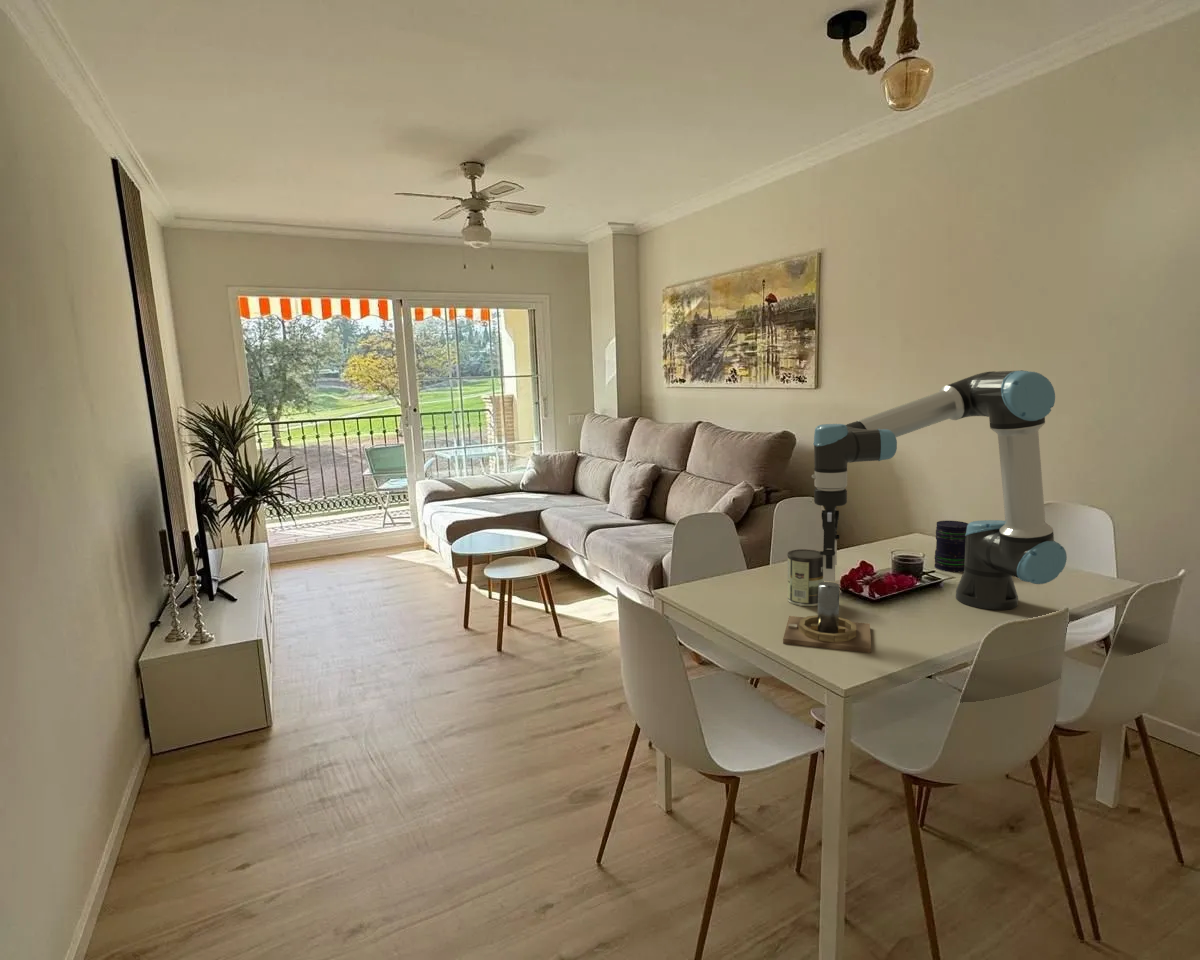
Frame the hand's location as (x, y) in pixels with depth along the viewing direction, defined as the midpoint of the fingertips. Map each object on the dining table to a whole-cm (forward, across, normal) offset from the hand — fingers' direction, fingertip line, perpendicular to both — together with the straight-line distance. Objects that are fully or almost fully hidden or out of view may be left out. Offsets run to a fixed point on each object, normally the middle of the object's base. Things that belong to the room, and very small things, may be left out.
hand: (830, 572), depth 162 cm
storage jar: (+18, -70, +35) cm, 80 cm away
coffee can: (+17, -25, -8) cm, 31 cm away
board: (+16, 0, -1) cm, 16 cm away
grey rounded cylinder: (+15, 0, 0) cm, 15 cm away
